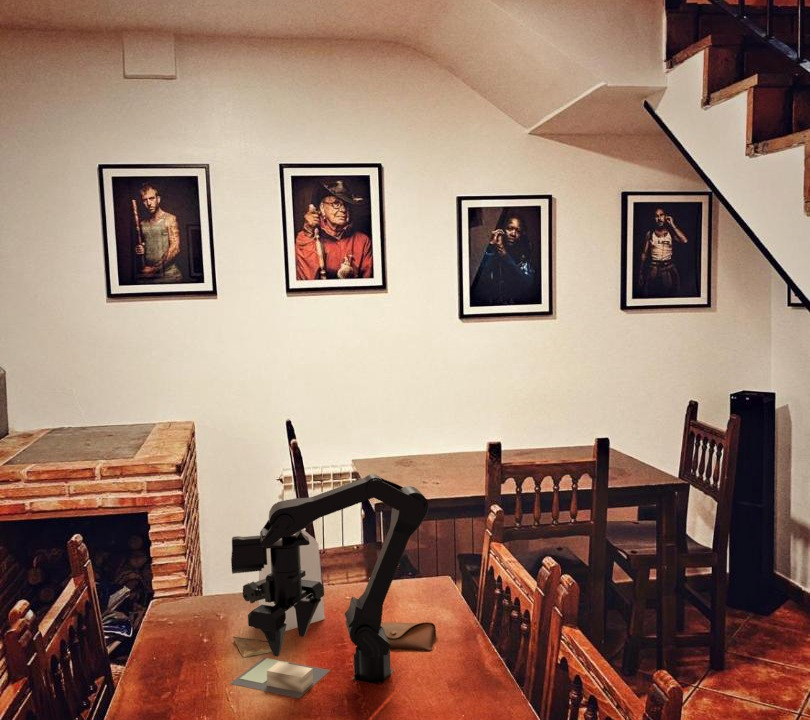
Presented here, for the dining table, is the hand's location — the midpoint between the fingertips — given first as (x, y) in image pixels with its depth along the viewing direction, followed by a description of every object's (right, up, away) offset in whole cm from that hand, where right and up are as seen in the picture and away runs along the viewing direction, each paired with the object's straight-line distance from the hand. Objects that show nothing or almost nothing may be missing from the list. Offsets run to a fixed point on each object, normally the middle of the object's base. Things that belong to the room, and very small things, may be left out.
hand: (289, 646), depth 150 cm
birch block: (0, -8, 0) cm, 8 cm away
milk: (-5, -6, +35) cm, 36 cm away
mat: (-2, -8, +4) cm, 9 cm away
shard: (-12, -8, +17) cm, 22 cm away
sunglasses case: (+20, -7, +20) cm, 29 cm away
